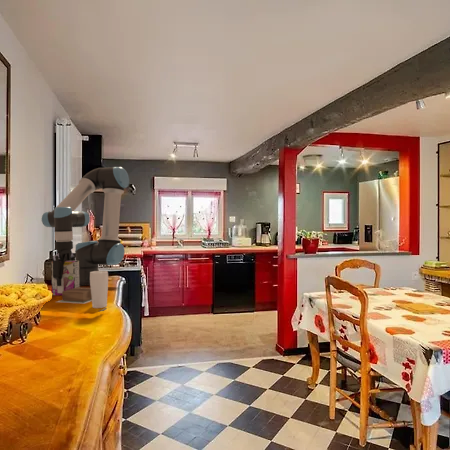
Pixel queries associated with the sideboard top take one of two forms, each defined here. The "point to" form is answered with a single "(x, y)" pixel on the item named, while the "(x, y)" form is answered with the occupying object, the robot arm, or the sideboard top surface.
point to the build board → (75, 302)
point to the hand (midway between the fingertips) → (65, 291)
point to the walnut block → (77, 294)
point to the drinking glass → (99, 288)
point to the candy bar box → (67, 276)
